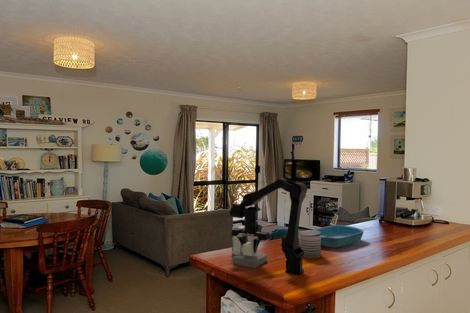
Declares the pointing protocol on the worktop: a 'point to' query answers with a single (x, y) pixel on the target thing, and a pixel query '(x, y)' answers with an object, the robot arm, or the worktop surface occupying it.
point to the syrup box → (237, 242)
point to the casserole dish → (339, 235)
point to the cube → (248, 249)
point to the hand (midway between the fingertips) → (250, 251)
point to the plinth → (250, 260)
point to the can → (310, 243)
